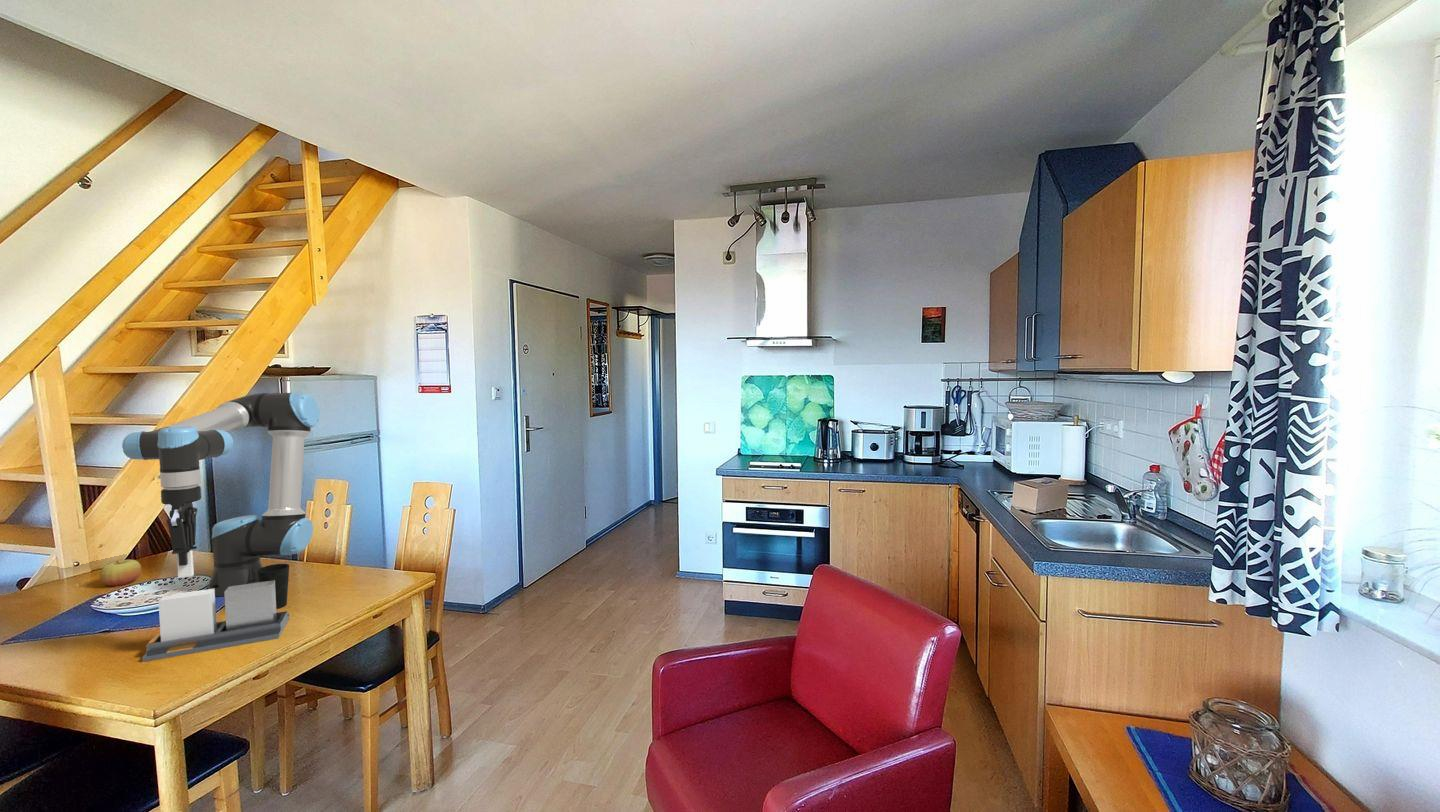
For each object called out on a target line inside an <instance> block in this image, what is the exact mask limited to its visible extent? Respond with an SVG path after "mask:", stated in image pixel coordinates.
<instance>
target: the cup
mask: <svg viewBox="0 0 1440 812" xmlns="http://www.w3.org/2000/svg"><path fill="white" fill-rule="evenodd" d="M257 573H258V579H259V582H266V581H274V580H275V592H276V610H278V609H279V610H280V609H281V608H284V607H286V606H287V605H288V593H289V592H288V591H289V579H290V578H289V575H290V565H289V564H288V563H275V564H274V563H273V564H270V565H265V566H263V567H262V568H260V569H258V570H257Z"/></svg>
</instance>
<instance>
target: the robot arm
mask: <svg viewBox="0 0 1440 812" xmlns="http://www.w3.org/2000/svg"><path fill="white" fill-rule="evenodd" d="M319 421H320V408H319V406H318V403H317V402H316V400H315V397H313V396H312V395H311V394H309V393H303V392H259V393H253V394H248V395H244V396H241V397H240V396H239V397H238V398H234V399H232V400H228V401H224V402H223V403H220V404H219V405H218V406H217V407H216V409H215V408H214V409H212V410H209V411H207V412H203V413H201V414H198V415H195V416H192V417H190V418H187V419H183V420H181V421H178V422H176V423H172V424H170V425H167V426H163V427H161V428H157V429H154V430H152V431H145V430H143V431H136V432H135V431H134V432H130V433H129V434H127V435H126V436H125V437H124V439H123V440H122V445H121V448H122V451H123V453H124V455H125V456H126V457H127V458H129V459H130V460H143V461H148V460H152V461H153V460H158V461H159V475H157V476H156V477H157V479H158V480H160V487H161V488H162V489H161V491H160V500H161V501H160V502H161V504H163V505H169V506H171V509H170V510H169V518H167V519H166V524H167V526H168V529H169V530H168V531H169V536H170V542H171V549H172V552H171V554H172V555H176V564H177V578H178V579H180V578H188V577H189V578H190V577H193V576H194V574H195V572H194V570H195V569H194V556H193V554H194V553H193V550H197V548H198V546H197V545H196V544H197V543H196V532H197V530H196V529H197V528H196V527H197V514H198V513H197V512H198V508H197V507H195V506H194V504H193V502H194V503H195V502H199V501H200V500H201V499H202V487H201V486H200V484H201V482H202V481H201V468H200V461H202V460H206V459H213V458H219V457H222V456H224V455H226V454H228V453H230V452H231V450H232V449H233V447H234V440H233V439H234V438H233V437H232V435H231V434H230V433H229V431H239V430H242V429H244V428H245V429H247V428H267V433H268V434H269V435H270V436H271V437H272V445H271V446H272V447H271V460H270V461H271V462H270V465H271V466H270V478H269V490H268V492H269V494H268V505H267V506H268V509H266V511H265V512H264V513H262V515H261V519H260V518H259V515H257V514H249V515H242V516H237V517H232V518H228V519H225V520H221V521H218V522H217V523H215V524H214V525H213V526H212V529H211V530H212V531H211V532H212V534H211V540H212V542H211V543H212V555H213V556H212V557H213V571H212V574H211V577H210V580H209V582H208V586H207V589H215V597H225V594H224V592H225V590H226V589H227V588H228V587H230V586H237V585H244V584H252V583H259V579H258V573H257V570H258V569H260V568H262V567H264V566H263V563H262V562H261V557H266V556H267V557H268V556H271V557H272V556H283V557H285V556H289V555H297V554H300V553H302V552H304V550H305V549H306V548H307V547H308V545H309V544H310V542H311V540H312V536H313V533H314V525H313V521H312V520H311V519H310V518H307V517H306V512H305V511H304V510H303V509H302V508H301V507H302V505H301V503H302V489H303V488H302V486H303V473H304V471H303V470H304V455H305V453H304V452H305V451H304V450H305V438H306V437H307V436H308V435H309V434H311V428H313V427H316V426H317V425H318V424H319Z"/></svg>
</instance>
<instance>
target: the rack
mask: <svg viewBox="0 0 1440 812" xmlns="http://www.w3.org/2000/svg"><path fill="white" fill-rule="evenodd" d="M224 594H225V596H224V608H225V610H224V611H225V620H222V621H216V625H217V631H216V632H215V633H212V634H206V635H200V636H194V637H188V638H181V639H175V640H169V641H163V642H161V634H160V631H158V633H156V634H155V635H154V636H153V637H152V639H151V640H149V641H148V643H147V644H146V645H145V648H146V650H145V651H146V653H145V654H144V655H143V656H142V657H141V659H142V663H143V662H151V661H155V660H156V661H157V660H162V659H167V658H172V657H177V656H178V657H179V656H184V655H190V654H195V653H201V652H209V651H213V650H217V649H223V648H231V647H236V646H241V645H248V644H252V643H259V642H258V641H260V642H264V640H265V641H270V640H276V639H280V637H281V635H282V633H283V631H284V629H285V627H286V626H287V624H288V622H289V620H290V614H289V613H288V611H287V610H286V611H279V612H277V609H276V592H275V580H274V581H266V582H259V583H252V584H244V585H237V586H230V587H228V588H227V589H226V590H225V592H224Z"/></svg>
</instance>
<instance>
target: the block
mask: <svg viewBox="0 0 1440 812" xmlns="http://www.w3.org/2000/svg"><path fill="white" fill-rule="evenodd" d="M216 607H217V606H216V596H215V589H208V588H207V589H201V590H193V591H186V592H180V593H179V592H178V593H172V594H165V595H163V596H162V597H160V598H159V600H158V612H159V614H158V615H159V616H158V617H159V632H160V634H161V642H163V641H169V640H175V639H181V638H188V637H194V636H200V635H206V634H212V633H215V632H216V631H217V625H216V622H217V611H216V610H217V609H216Z"/></svg>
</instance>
